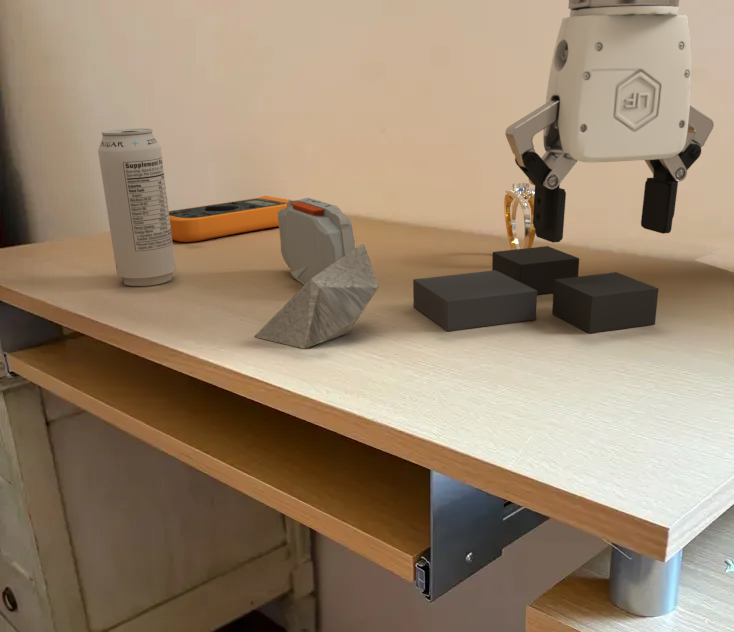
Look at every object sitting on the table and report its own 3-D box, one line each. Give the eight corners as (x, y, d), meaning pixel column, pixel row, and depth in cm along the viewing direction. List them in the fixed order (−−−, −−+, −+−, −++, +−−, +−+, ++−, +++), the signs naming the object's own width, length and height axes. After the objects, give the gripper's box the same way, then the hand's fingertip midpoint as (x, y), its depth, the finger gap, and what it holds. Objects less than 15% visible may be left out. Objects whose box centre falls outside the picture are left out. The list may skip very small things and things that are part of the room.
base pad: (494, 296, 76) (495, 269, 75) (536, 319, 69) (537, 290, 68) (413, 306, 74) (412, 279, 73) (447, 331, 67) (447, 301, 66)
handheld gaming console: (361, 296, 78) (357, 210, 75) (333, 301, 77) (328, 214, 74) (301, 267, 90) (296, 192, 87) (276, 271, 89) (270, 195, 86)
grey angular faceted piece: (270, 348, 61) (217, 292, 67) (306, 396, 66) (253, 340, 72) (393, 246, 62) (330, 200, 68) (420, 301, 67) (358, 254, 73)
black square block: (613, 305, 72) (616, 271, 71) (655, 324, 67) (658, 288, 66) (551, 313, 71) (553, 279, 69) (589, 333, 65) (592, 296, 64)
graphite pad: (546, 275, 83) (547, 245, 82) (577, 289, 77) (579, 257, 76) (491, 282, 81) (492, 251, 80) (519, 296, 76) (520, 264, 75)
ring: (497, 252, 93) (498, 179, 90) (525, 251, 93) (527, 178, 90) (512, 266, 87) (514, 188, 84) (542, 265, 87) (545, 187, 84)
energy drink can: (156, 270, 91) (136, 127, 85) (188, 278, 87) (170, 129, 81) (107, 282, 87) (83, 132, 81) (138, 290, 83) (116, 134, 77)
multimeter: (152, 237, 109) (148, 210, 108) (267, 218, 120) (265, 193, 118) (182, 245, 103) (179, 218, 102) (301, 225, 114) (299, 199, 112)
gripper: (541, -10, 54) (526, 252, 60) (761, -8, 58) (726, 235, 65) (492, -1, 60) (483, 234, 67) (693, 0, 65) (667, 220, 72)
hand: (602, 234), depth 66 cm, fingers open, 9 cm apart
